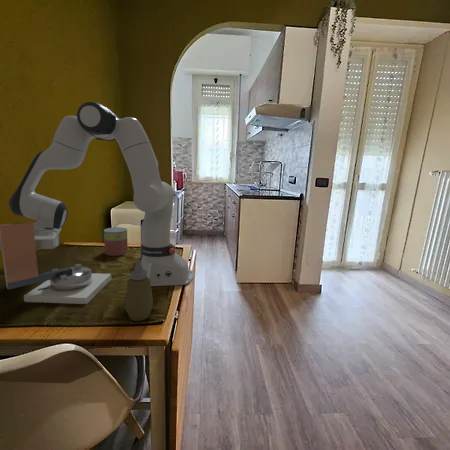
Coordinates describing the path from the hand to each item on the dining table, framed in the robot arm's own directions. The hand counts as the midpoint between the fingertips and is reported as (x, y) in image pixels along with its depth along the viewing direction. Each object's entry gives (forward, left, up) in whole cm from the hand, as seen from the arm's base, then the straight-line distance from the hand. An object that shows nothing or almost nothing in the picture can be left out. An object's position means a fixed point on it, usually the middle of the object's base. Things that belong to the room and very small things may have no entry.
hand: (9, 248), depth 83 cm
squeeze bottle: (-42, +6, -18) cm, 46 cm away
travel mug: (-29, -48, -18) cm, 59 cm away
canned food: (-11, -54, -18) cm, 58 cm away
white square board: (-12, -10, -18) cm, 24 cm away
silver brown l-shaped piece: (-9, -6, -15) cm, 19 cm away
